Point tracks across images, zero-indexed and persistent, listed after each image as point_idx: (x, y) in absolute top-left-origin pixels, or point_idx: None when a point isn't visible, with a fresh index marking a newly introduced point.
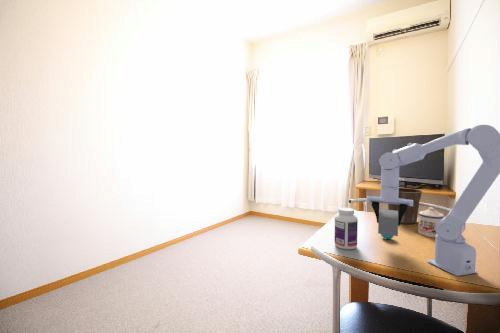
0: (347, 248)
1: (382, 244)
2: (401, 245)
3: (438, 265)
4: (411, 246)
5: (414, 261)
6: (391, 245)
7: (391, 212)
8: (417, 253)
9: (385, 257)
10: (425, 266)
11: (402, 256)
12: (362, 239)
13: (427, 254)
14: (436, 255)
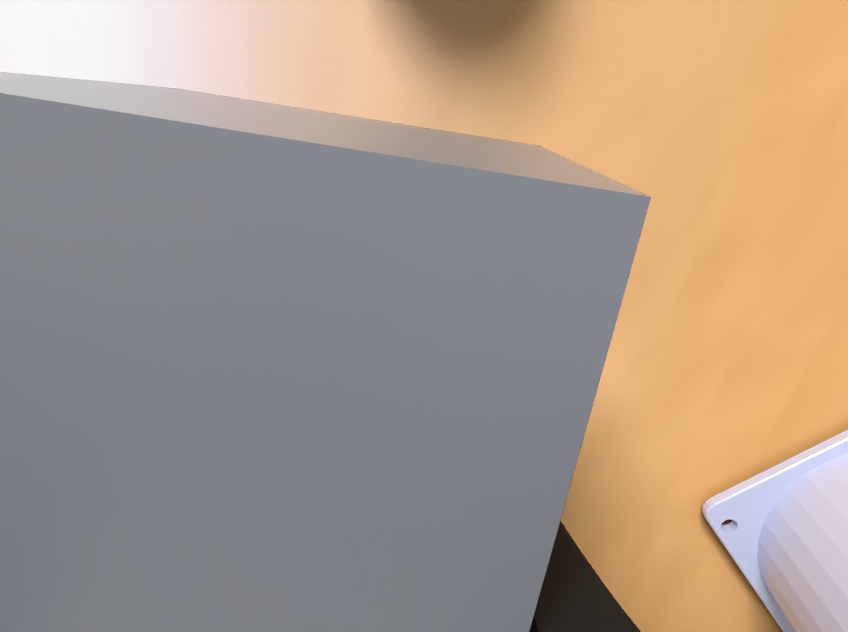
0: None
1: None
2: (587, 65)
3: (762, 582)
4: (715, 56)
5: (587, 505)
6: (455, 117)
7: (268, 599)
8: (696, 294)
9: None
10: (647, 576)
11: None
12: (102, 3)
13: (804, 289)
14: (801, 623)
